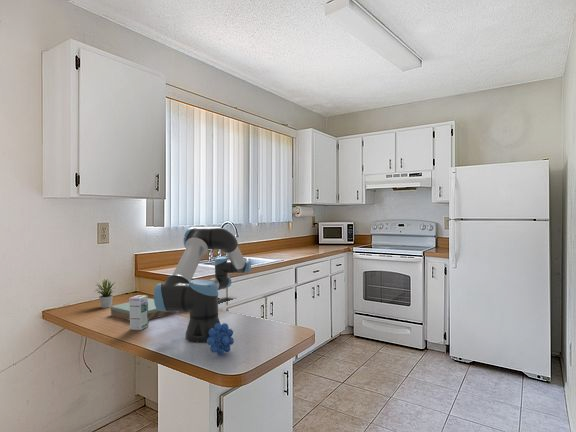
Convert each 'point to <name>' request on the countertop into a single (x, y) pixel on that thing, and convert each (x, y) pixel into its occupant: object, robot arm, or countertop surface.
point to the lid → (126, 308)
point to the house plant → (105, 294)
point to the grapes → (220, 338)
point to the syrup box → (138, 312)
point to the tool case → (150, 315)
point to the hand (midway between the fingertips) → (176, 293)
